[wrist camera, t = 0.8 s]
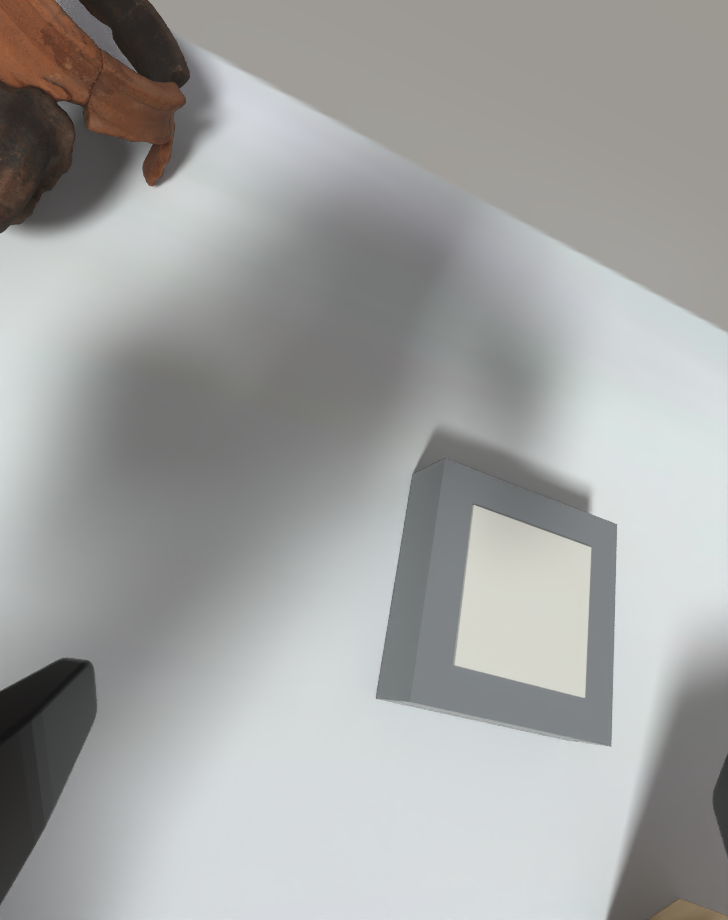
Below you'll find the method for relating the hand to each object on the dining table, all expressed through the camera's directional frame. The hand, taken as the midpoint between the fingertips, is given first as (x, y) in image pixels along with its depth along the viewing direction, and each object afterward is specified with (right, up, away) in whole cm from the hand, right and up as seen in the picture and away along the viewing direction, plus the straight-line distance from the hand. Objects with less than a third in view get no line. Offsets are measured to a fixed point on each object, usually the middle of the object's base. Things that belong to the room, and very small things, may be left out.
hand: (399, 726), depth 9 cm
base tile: (+5, -2, +18) cm, 18 cm away
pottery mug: (-13, +15, +14) cm, 24 cm away
